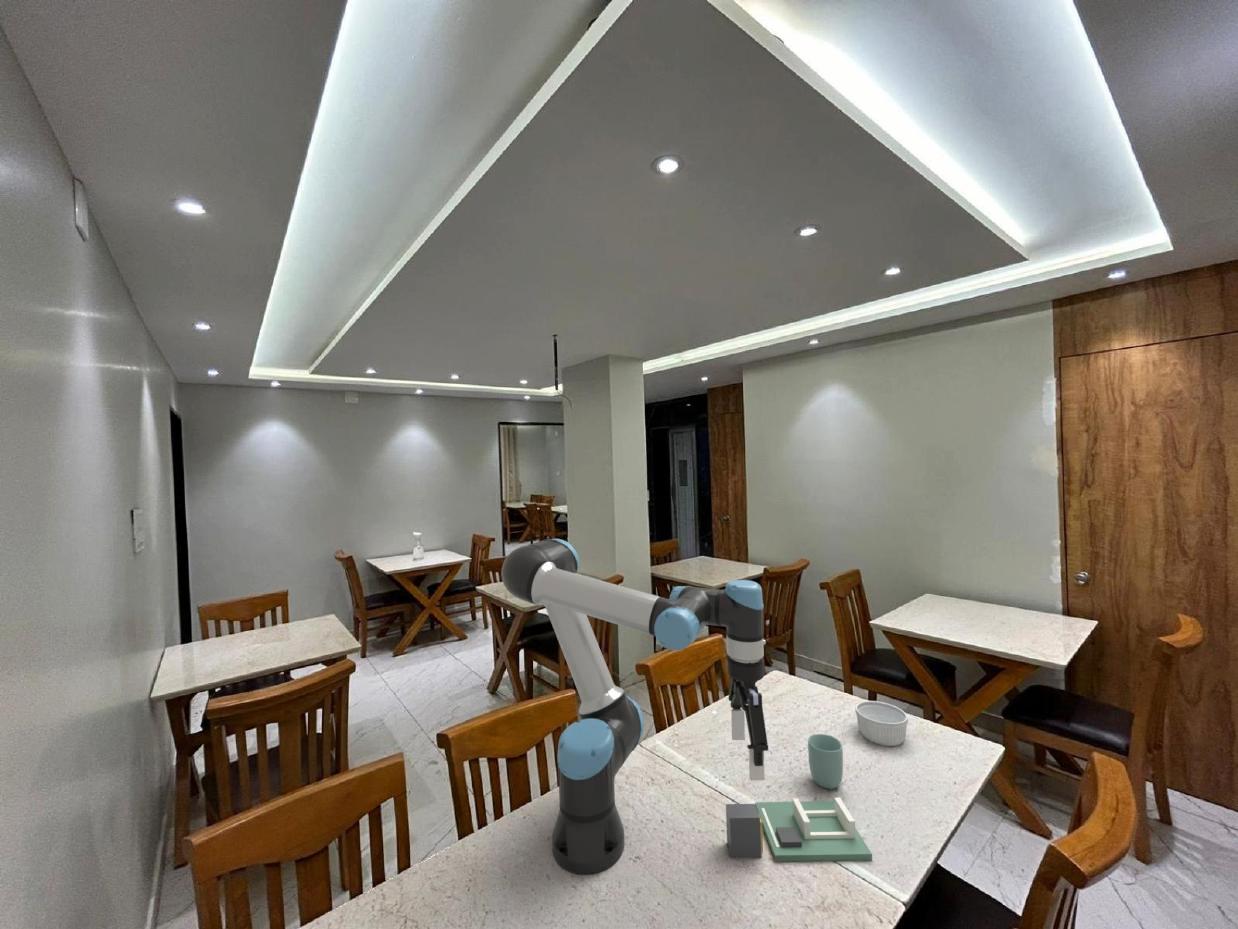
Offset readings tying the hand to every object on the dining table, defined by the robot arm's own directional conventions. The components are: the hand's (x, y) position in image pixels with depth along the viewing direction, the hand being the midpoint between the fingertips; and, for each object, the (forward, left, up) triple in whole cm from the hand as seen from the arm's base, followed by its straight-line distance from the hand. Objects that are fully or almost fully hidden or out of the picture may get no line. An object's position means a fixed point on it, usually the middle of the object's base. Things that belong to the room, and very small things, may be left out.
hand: (747, 758), depth 100 cm
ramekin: (+47, +38, -18) cm, 63 cm away
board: (+13, +2, -17) cm, 22 cm away
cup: (+23, +18, -18) cm, 34 cm away
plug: (-2, -2, -17) cm, 18 cm away
